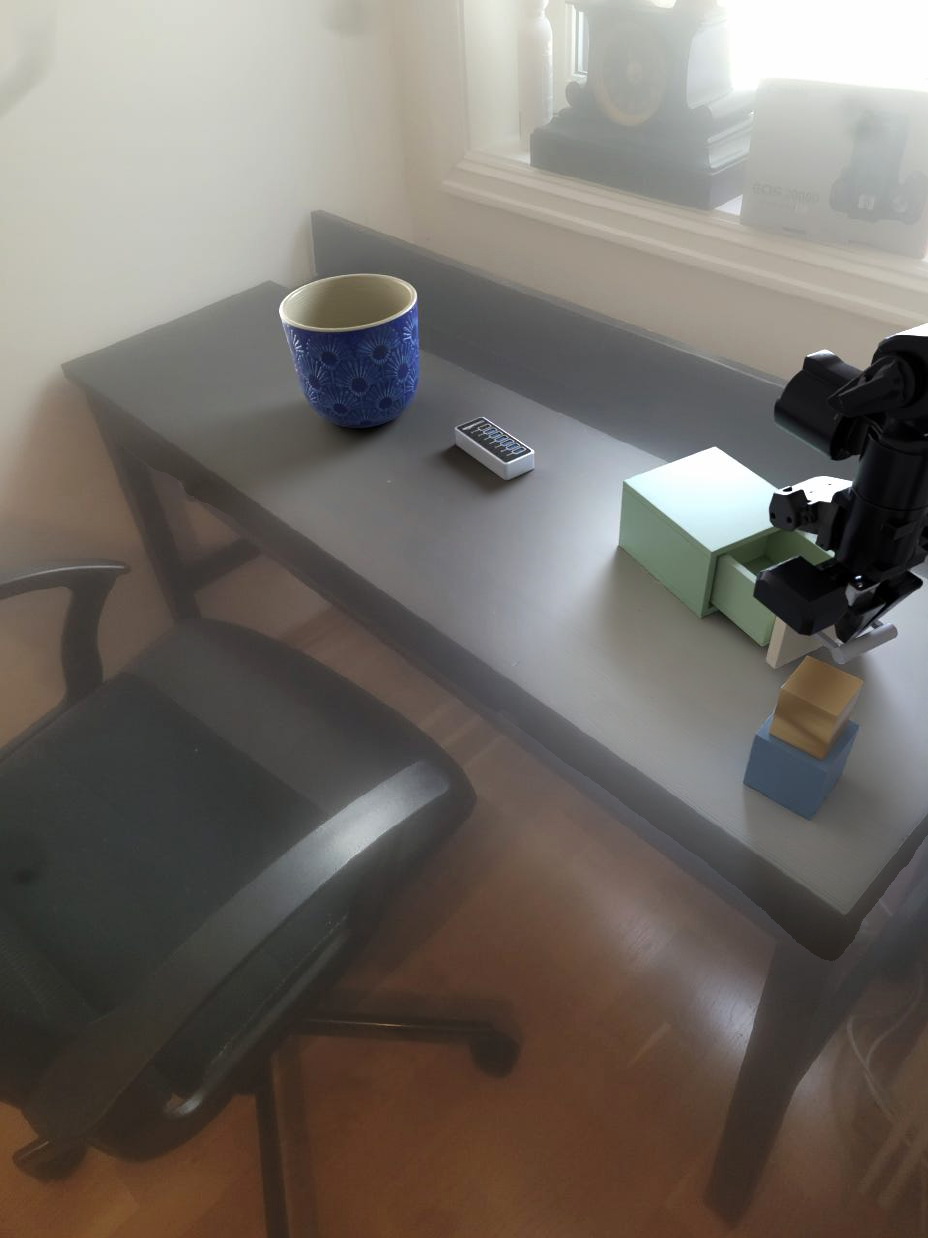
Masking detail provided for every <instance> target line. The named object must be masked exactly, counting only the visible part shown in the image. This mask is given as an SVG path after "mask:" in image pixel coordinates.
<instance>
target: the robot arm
mask: <svg viewBox="0 0 928 1238" xmlns="http://www.w3.org/2000/svg"><path fill="white" fill-rule="evenodd" d="M773 419H774V423H775V425H776V426H777V427H778V428H779V429H781V430H782V431H784V432H785V433H787V434H789V435H790V436H792V437H793V438H795V439H798V440H799V441H800V442H802V443H803V444H805V445H807V446H809V447H810V448H811V449H813V450H815V451H817V452H818V453H820V454H821V455H823V456H825V457H826V458H828V459H829V460H831V461H835V462H839V461H845V460H848V459H850V458H851V457H853V456H854V457H855V456H859V458H858V461H857V464H856V468H855V472H854V476H853V478H852V480H848V479H843V478H838V477H832V476H815V477H812V478H809V479H807V480H805V481H802V482H799V483H797V484H795V485H792V486H791V485H788V486H785V487H783V488H780V489H778V491H775V492H774V493H773V496H772V499H771V502H770V505H769V520H770V522H771V524H772V525H773V526H774V527H776V528H779V529H783V530H786V531H790V532H793V531H795V530H800V531H804V532H807V533H809V534H810V535H811V534H812V535H816V542H815V544H816V545H817V546H819V547H820V548H821V549H823V550H824V551H826V552H827V551H829V550H831V551H833V552H834V553H835V554H834V557H832V558H830V559H828V560H826V561H823V562H821V563H819V564H817V565H813V564H811V563H810V562H809V561H807V560H806V559H805V558H803V557H802V556H798V557H794V558H790V559H788V560H786V561H783V562H781V563H779V564H776V565H774V566H772V567H769V568H767V569H765V570H762V571H760V572H758V573H757V577H756V582H755V586H754V592H753V597H754V598H755V599H757V600H758V601H759V602H760V603H761V604H763V605H764V606H765V607H766V608H768V609H769V610H770V611H771V612H772V613H774V614H775V615H776V616H777V617H778V618H780V619H781V620H782V621H783V622H785V623H786V624H787V625H788V626H789V627H791V628H792V629H793V630H794V631H795V632H797V633H798V634H800V635H806V636H811V635H813V634H815V633H818V632H820V631H822V630H824V629H826V628H828V627H830V626H832V625H834V627H835V633H836V637H837V638H838V639H837V640H838V641H840V642H842V643H843V644H845V643H847V642H849V641H851V640H853V639H855V638H857V637H859V636H861V635H862V633H864V632H865V631H867V630H868V629H869V628H870V627H871V625H872V624H873V623H875V622H876V621H877V620H880V619H881V618H882V617H884V616H885V615H886V614H887V613H889V612H890V611H891V610H892V609H894V608H895V607H896V606H898V605H899V604H900V603H901V602H903V601H904V600H905V599H906V598H909V596H911V595H912V594H913V593H914V592H916V591H918V590H920V589H921V588H922V587H923V585H924V580H923V579H922V578H921V577H919V576H918V575H917V574H915V573H913V572H912V568H915V567H917V566H919V565H921V564H923V563H925V560H926V558H927V557H928V323H924V324H922V325H919V326H916V327H913V328H909V329H907V330H904V331H902V332H899V333H896V334H893V335H890V336H886V337H885V338H884V339H882V340H881V341H880V342H878V344H877V348H876V350H875V351H874V353H873V355H872V359H871V362H870V365H869V366H868V367H867V368H865V369H864V370H861V369H860V368H857V367H855V366H853V365H851V364H849V363H848V362H846V361H844V360H843V359H842V358H840V357H839V356H838V355H837V354H835V353H833V352H832V351H829V350H827V349H823V350H820V351H818V352H814V353H812V354H808V355H807V356H805V357H804V359H803V364H802V367H801V369H800V370H799V371H798V372H797V373H796V374H795V375H794V376H793V377H792V378H791V379H790V380H789V381H788V382H787V384H786V385H785V387H784V388H783V390H782V392H781V394H780V396H779V397H778V398H776V400H775V403H774V407H773Z"/></svg>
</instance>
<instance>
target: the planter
mask: <svg viewBox="0 0 928 1238" xmlns="http://www.w3.org/2000/svg"><path fill="white" fill-rule="evenodd" d="M418 311H419V308H418V293H417V291H416V289H415V288H414V286H412V285H411V284H410V283H409V282H407V281H405V280H403V279H400V278H398V277H394V276H391V275H385V274H384V275H383V274H377V273H351V274H344V275H336V276H331V277H327V278H323V279H318V280H315V281H313V282H310V283H308V284H305V285H303V286H300V287H299V288H297V289H295V290H294V291H292V292H290V293H289V294H288V295H287V296H286V297H285V298H284V299H283V300H282V302H281V303H280V306H279V316H280V319H281V323H282V326H283V330H284V334H285V337H286V340H287V343H288V348H289V350H290V354H291V358H292V361H293V364H294V369H295V371H296V375H297V378H298V382H299V385H300V387H301V390H302V393H303V395H304V397H305V399H306V400H307V402H308V404H309V405H310V407H311V408H312V409H313V410H314V412H315V413H316V414H318V416H320V417H321V418H323V419H324V420H326V421H327V422H329V423H331V424H333V425H336V426H339V427H344V428H350V429H366V428H374V427H377V426H380V425H384V424H386V423H389V422H390V421H392V420H394V419H395V418H398V417H399V416H400V415H402V413H404V412H405V410H406V409H407V408H408V407H409V406H410V405H411V403H412V401H413V400H414V398H415V395H416V393H417V390H418V387H419V386H418V385H419V379H420V346H419V345H420V343H419V312H418Z"/></svg>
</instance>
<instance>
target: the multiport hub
mask: <svg viewBox="0 0 928 1238" xmlns="http://www.w3.org/2000/svg"><path fill="white" fill-rule="evenodd" d="M454 435H455V445H456V446H457V447H459V448H460V449H461V450H463V452H466V453H467V454H468V455H470V456H471V457H473V458H474V459H475V460H476V461H478V462H479V463H480V464H482V465H483V466H485V467H486V468H487V469H489V470H490V471H492V472H493V473H495V475H497V476H498V477H500V478H501V479H503V480H504V481H509V480H510V481H511V480H512V479H514V478H516V477H519V476H521V475H523V474H526V473H527V472H530V471H532V470H534V469H535V451H534V450H533V449H532V448H530V446H527V445H526V444H524V443H523V442H521V441H520V440H518V439H517V438H516V437H514V436H512V435H511V434H510V433H509V432H506V431H505V430H504V429H502V428H500V427H499V426H498V425H496V424H495V423H493V422H492V421H490V420H489V419H487V418H485V417H484V416H479V417H476V418H474V419H472V420H469V421H467V422H464V423H463V424H460V425H457V426H455V427H454Z"/></svg>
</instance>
